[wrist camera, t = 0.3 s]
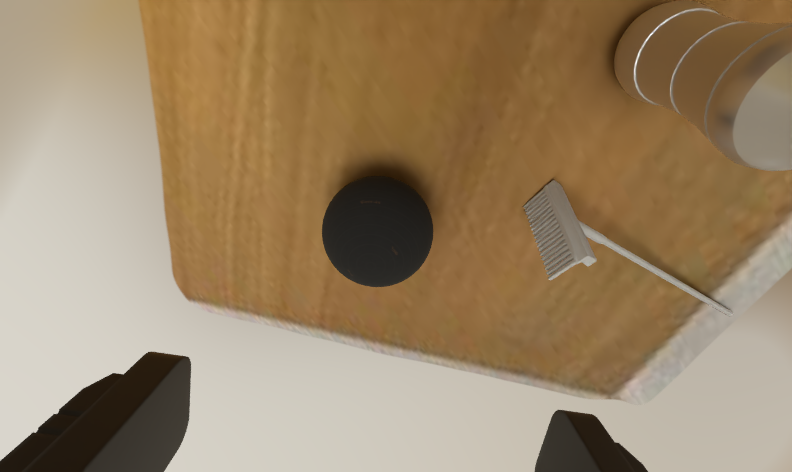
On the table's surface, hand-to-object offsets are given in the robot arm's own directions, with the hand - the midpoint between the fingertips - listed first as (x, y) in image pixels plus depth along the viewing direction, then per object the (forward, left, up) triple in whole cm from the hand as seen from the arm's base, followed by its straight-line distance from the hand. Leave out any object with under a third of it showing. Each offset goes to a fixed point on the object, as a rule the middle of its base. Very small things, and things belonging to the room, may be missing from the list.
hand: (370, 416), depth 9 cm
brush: (+25, +14, -30) cm, 41 cm away
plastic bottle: (+5, +17, -30) cm, 35 cm away
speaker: (+10, -8, -30) cm, 32 cm away
